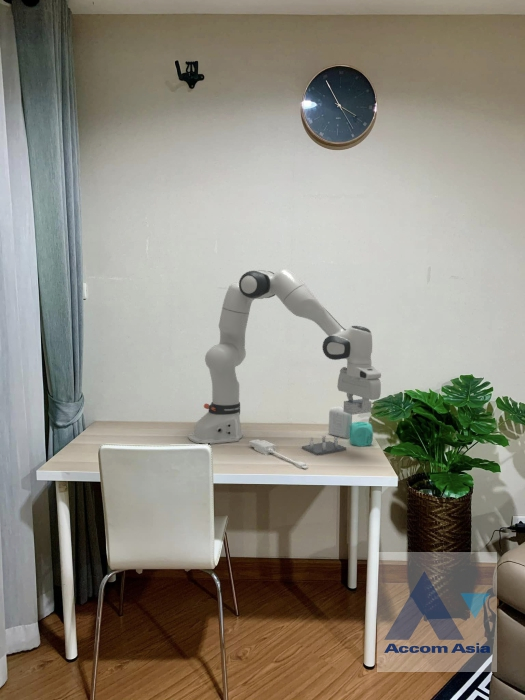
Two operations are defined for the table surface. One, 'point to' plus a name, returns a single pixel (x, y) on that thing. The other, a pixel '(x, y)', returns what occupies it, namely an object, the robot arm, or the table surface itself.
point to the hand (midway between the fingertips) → (357, 407)
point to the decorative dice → (361, 434)
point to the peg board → (323, 447)
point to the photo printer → (339, 422)
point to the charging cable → (272, 451)
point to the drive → (356, 407)
